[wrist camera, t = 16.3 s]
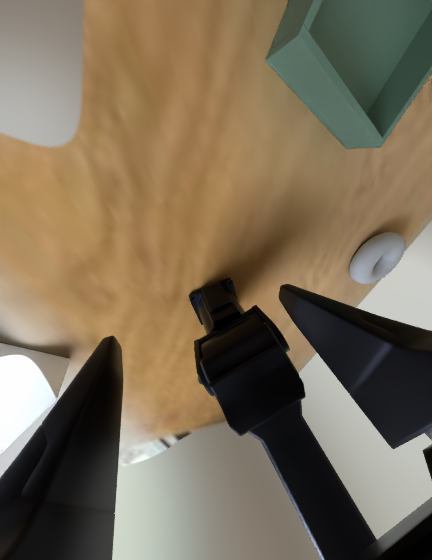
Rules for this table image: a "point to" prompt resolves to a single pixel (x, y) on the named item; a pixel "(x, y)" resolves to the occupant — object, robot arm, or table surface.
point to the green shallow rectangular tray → (355, 62)
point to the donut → (377, 257)
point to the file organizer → (26, 388)
